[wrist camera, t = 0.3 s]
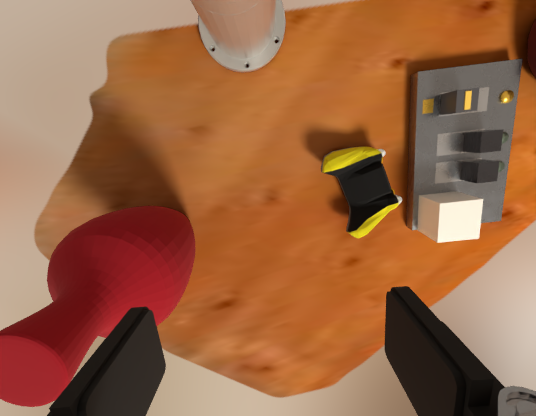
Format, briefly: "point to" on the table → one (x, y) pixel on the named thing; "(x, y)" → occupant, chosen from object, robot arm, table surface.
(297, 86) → the table surface
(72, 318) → the vase
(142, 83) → the table surface
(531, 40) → the ashtray
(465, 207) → the chalk-white cube
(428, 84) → the panel
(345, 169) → the gaming controller
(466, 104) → the toggle
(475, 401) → the robot arm
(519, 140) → the table surface
